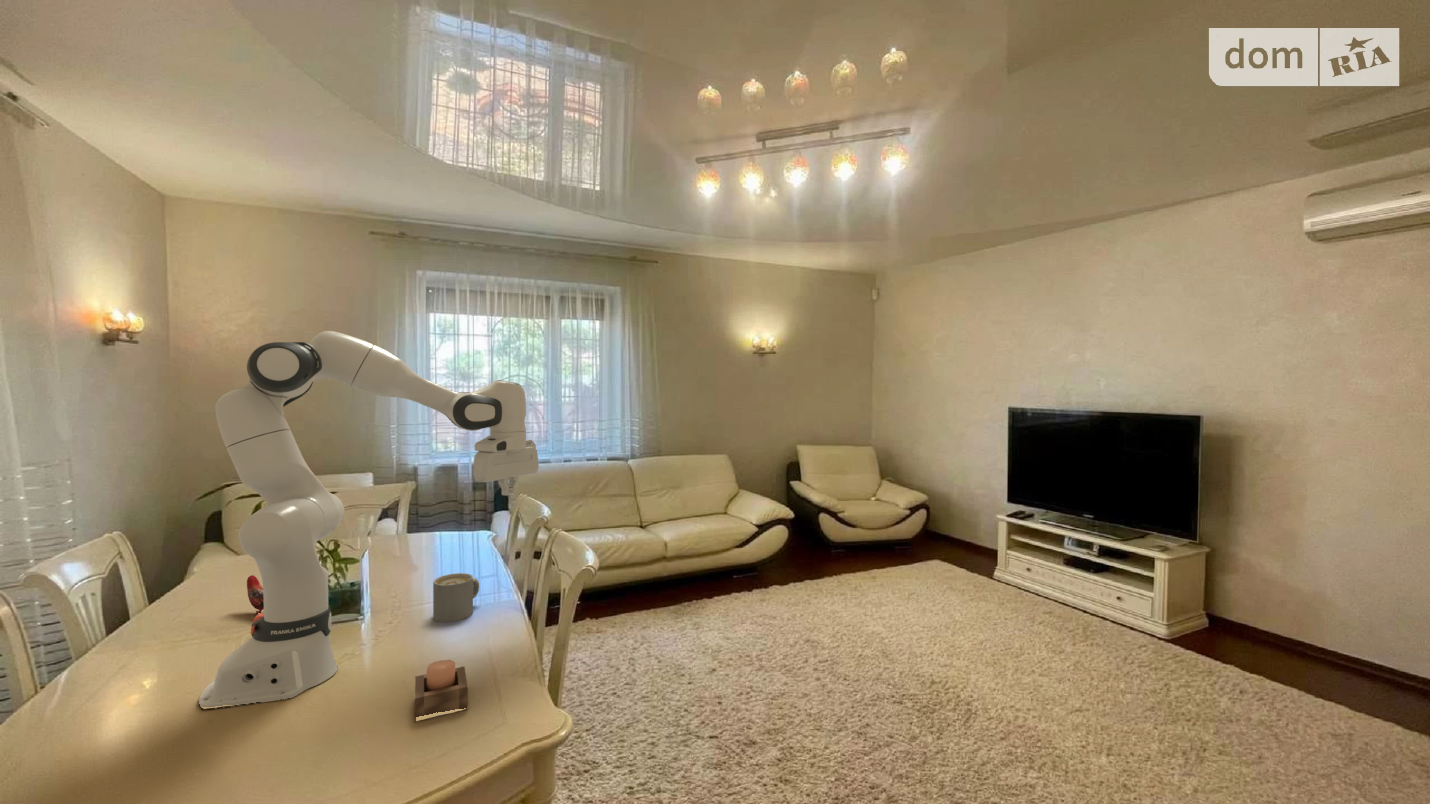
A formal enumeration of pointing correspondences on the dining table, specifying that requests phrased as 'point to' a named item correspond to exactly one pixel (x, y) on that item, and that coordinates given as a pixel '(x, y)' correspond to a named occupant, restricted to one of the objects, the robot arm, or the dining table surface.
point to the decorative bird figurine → (255, 593)
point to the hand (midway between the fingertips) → (508, 494)
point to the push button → (440, 675)
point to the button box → (441, 695)
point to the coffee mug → (454, 596)
